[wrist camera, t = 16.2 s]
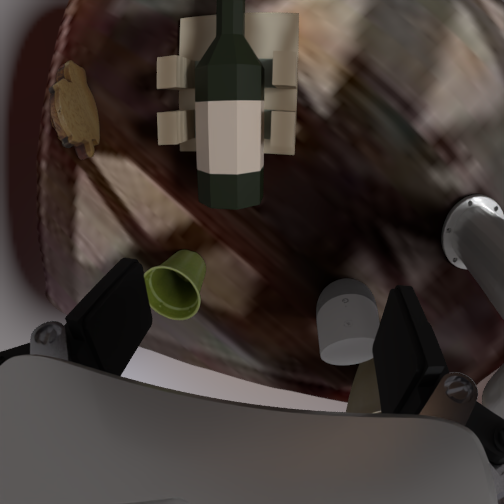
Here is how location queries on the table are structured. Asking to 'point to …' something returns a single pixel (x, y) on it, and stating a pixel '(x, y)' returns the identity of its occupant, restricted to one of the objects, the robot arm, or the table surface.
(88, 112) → the wooden carving
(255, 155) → the wine bottle
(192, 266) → the plant pot
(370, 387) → the plant pot
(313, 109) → the table surface
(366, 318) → the smart speaker
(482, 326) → the table surface
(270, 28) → the rest
